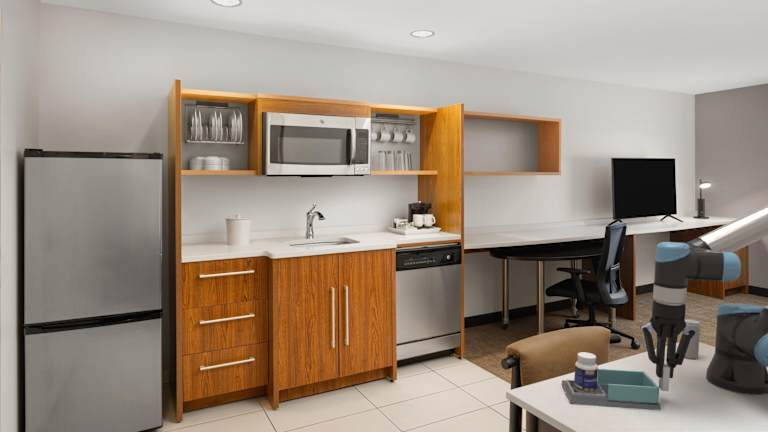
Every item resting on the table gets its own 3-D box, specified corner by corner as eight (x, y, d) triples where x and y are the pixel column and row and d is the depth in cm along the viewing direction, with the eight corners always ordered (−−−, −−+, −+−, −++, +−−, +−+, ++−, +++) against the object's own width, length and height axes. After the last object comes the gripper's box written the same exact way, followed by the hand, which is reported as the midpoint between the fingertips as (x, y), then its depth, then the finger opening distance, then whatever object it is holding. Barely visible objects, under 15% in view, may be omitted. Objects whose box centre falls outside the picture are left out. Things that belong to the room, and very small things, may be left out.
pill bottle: (586, 396, 132) (588, 360, 131) (569, 388, 137) (570, 353, 136) (601, 392, 135) (602, 356, 134) (584, 384, 140) (585, 349, 139)
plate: (644, 390, 139) (644, 382, 139) (660, 410, 128) (661, 401, 127) (561, 384, 143) (561, 376, 143) (570, 403, 131) (570, 395, 131)
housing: (643, 385, 139) (644, 371, 138) (658, 403, 128) (659, 388, 128) (597, 382, 141) (597, 368, 140) (608, 399, 130) (608, 384, 130)
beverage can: (684, 359, 163) (686, 323, 162) (678, 353, 167) (680, 318, 166) (700, 360, 162) (703, 323, 161) (694, 354, 166) (696, 319, 165)
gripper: (689, 299, 133) (683, 385, 135) (637, 296, 135) (632, 381, 137) (703, 306, 126) (696, 397, 128) (647, 304, 128) (642, 393, 130)
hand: (663, 389), depth 133 cm, fingers closed
